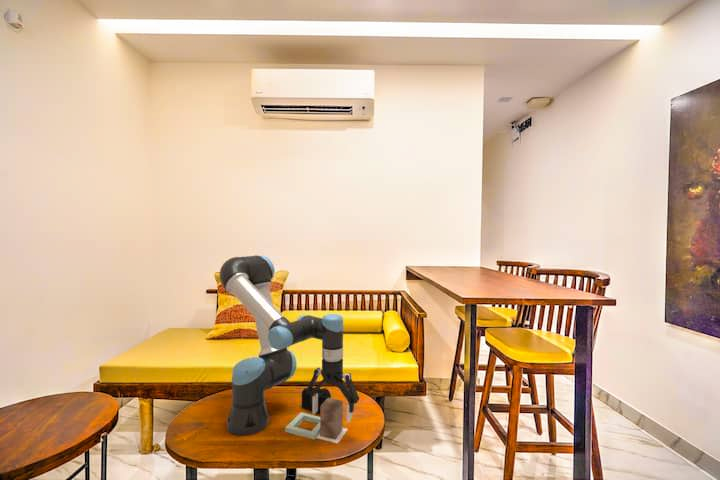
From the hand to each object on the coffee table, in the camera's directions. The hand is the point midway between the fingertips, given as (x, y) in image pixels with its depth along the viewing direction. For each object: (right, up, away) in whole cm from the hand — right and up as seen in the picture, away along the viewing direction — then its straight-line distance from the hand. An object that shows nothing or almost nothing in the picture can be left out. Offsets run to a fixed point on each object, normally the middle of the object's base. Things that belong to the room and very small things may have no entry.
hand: (331, 416), depth 121 cm
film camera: (-7, -6, +19) cm, 21 cm away
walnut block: (0, -6, 0) cm, 6 cm away
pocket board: (-9, -6, +4) cm, 12 cm away
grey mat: (0, -7, 0) cm, 7 cm away
